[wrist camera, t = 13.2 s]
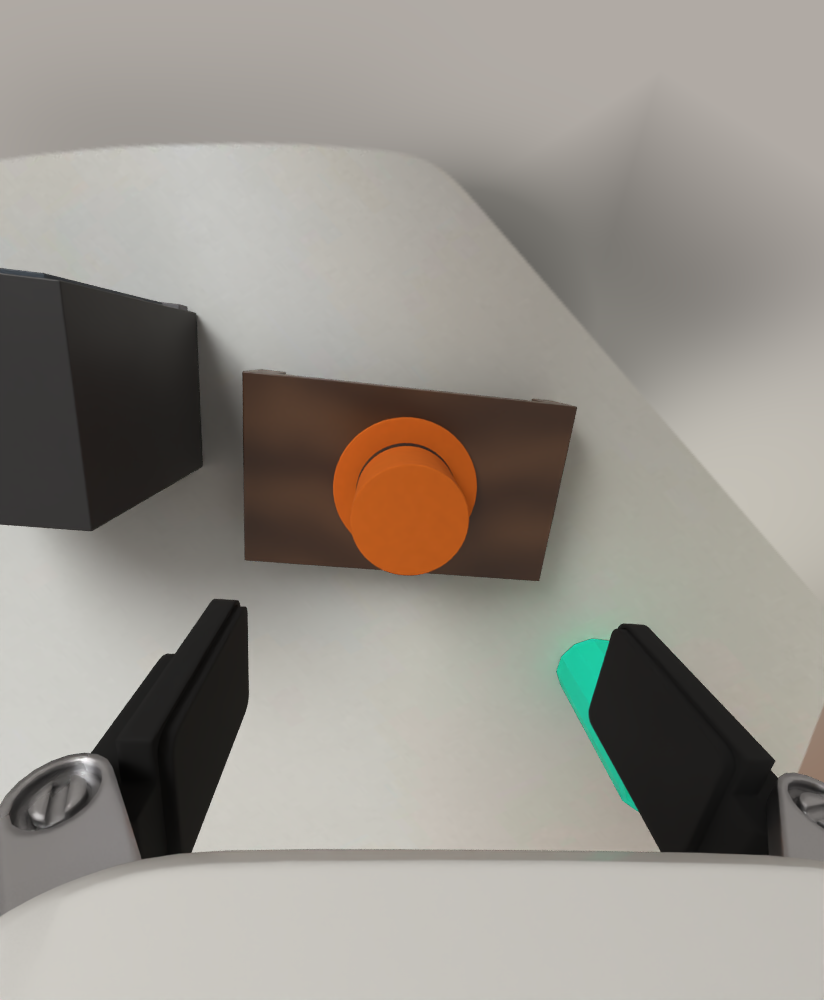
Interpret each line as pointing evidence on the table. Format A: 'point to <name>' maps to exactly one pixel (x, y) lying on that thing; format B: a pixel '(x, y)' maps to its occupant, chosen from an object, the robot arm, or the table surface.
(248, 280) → the table surface
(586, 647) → the candle
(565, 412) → the stand
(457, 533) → the hat
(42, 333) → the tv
